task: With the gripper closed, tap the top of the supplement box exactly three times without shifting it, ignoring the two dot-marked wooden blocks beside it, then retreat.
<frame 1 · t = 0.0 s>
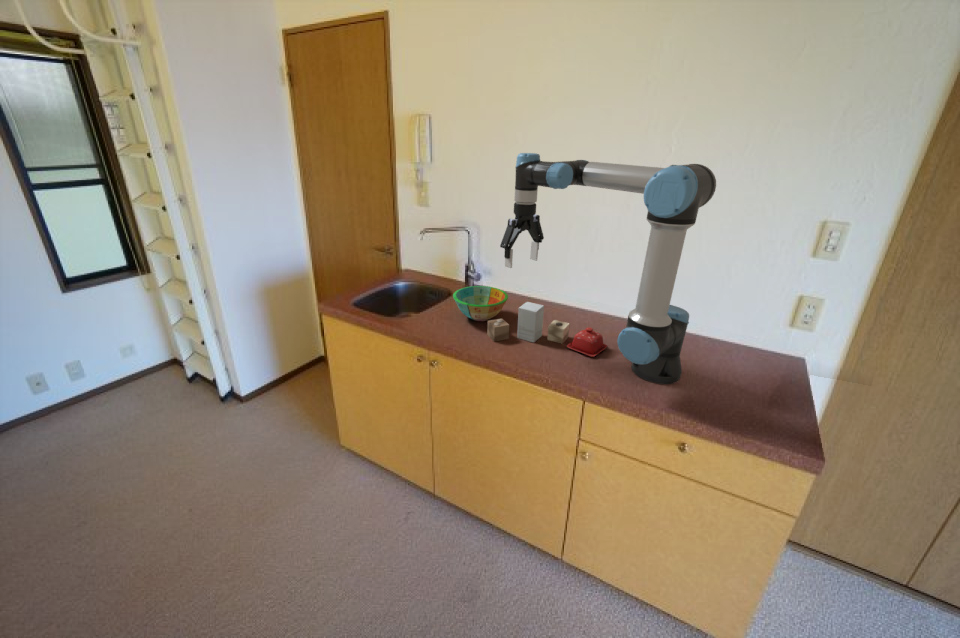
hand: (521, 263, 150), 28 cm above the worktop, fingers open, 13 cm apart
butter dish: (586, 349, 152), on the worktop
beech block marked: (557, 338, 158), on the worktop
bowl: (480, 317, 174), on the worktop
supplement box: (529, 337, 159), on the worktop
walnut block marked: (497, 337, 159), on the worktop
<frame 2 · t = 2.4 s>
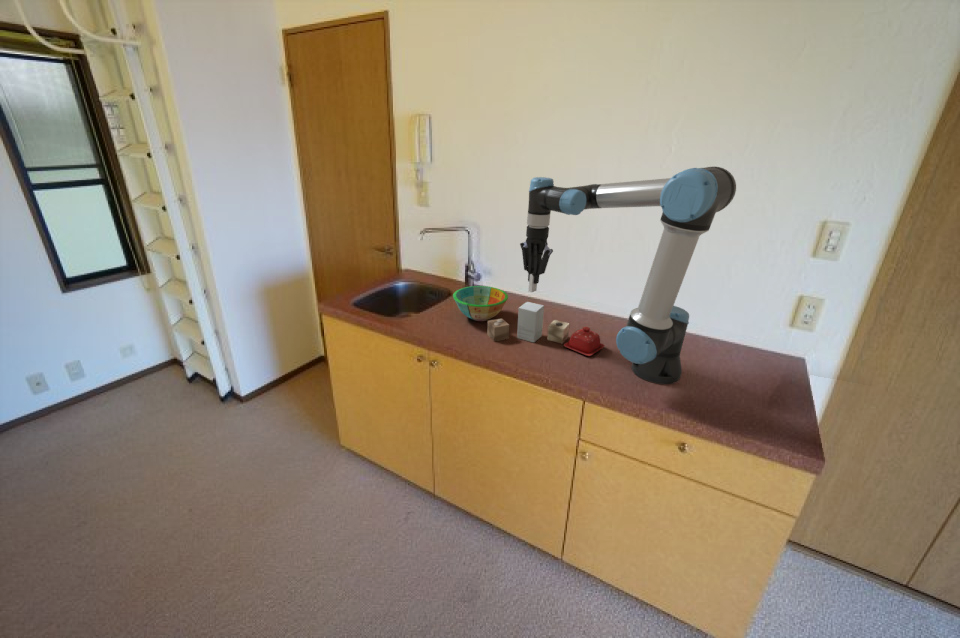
hand: (532, 290, 151), 19 cm above the worktop, fingers closed
butter dish: (583, 348, 152), on the worktop
everything else where it was.
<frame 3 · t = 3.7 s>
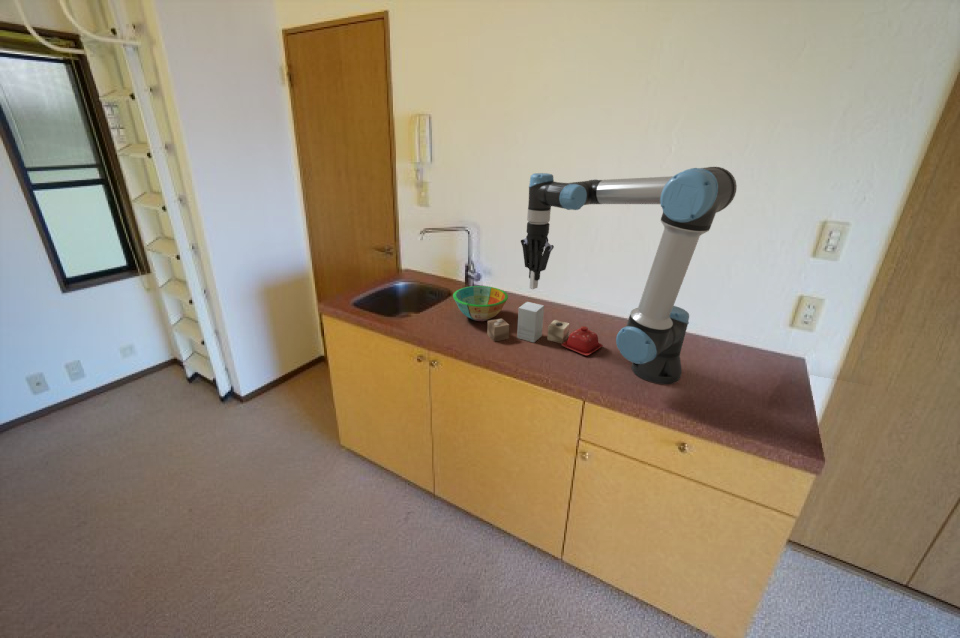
hand: (533, 287, 151), 20 cm above the worktop, fingers closed
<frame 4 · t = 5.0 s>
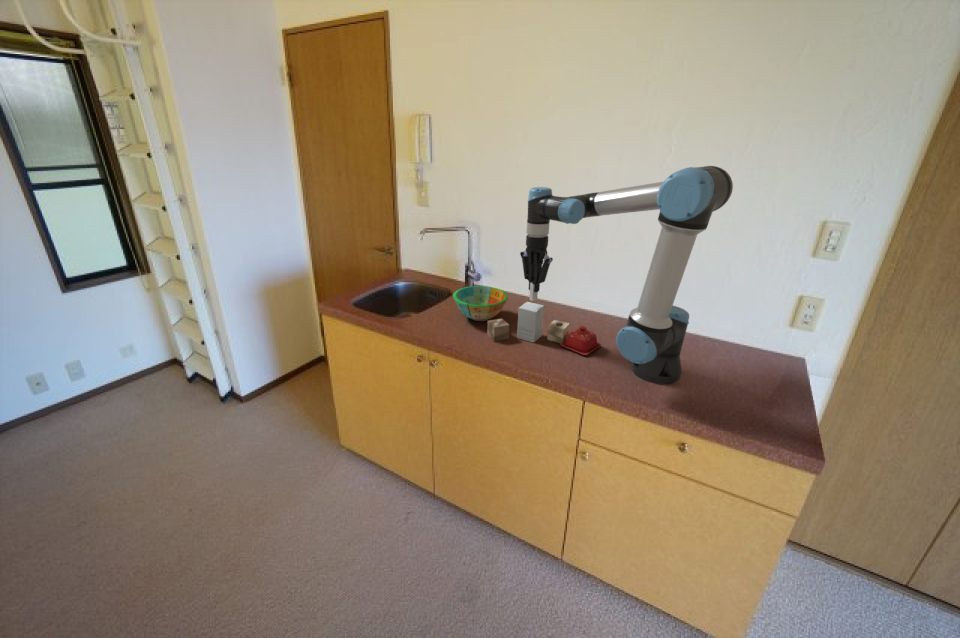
hand: (533, 299, 152), 15 cm above the worktop, fingers closed
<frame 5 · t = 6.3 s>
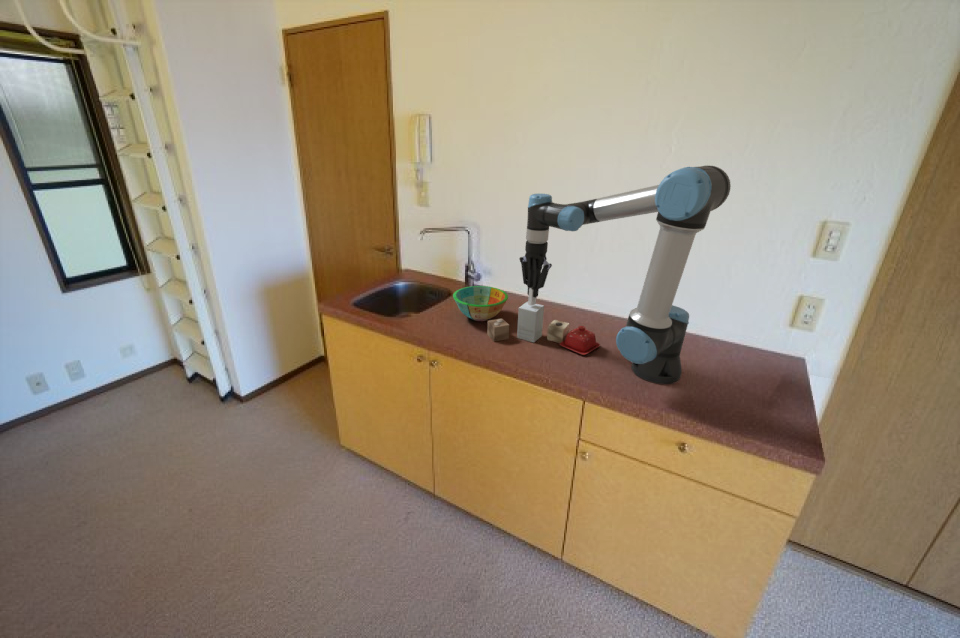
hand: (531, 304, 153), 13 cm above the worktop, fingers closed
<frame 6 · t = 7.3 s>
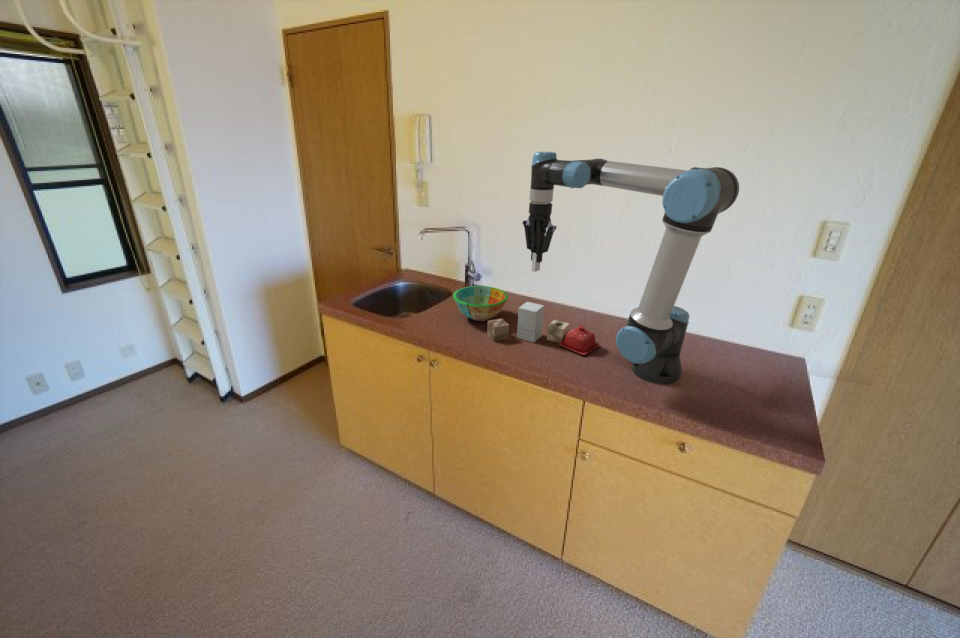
hand: (535, 270, 148), 26 cm above the worktop, fingers closed
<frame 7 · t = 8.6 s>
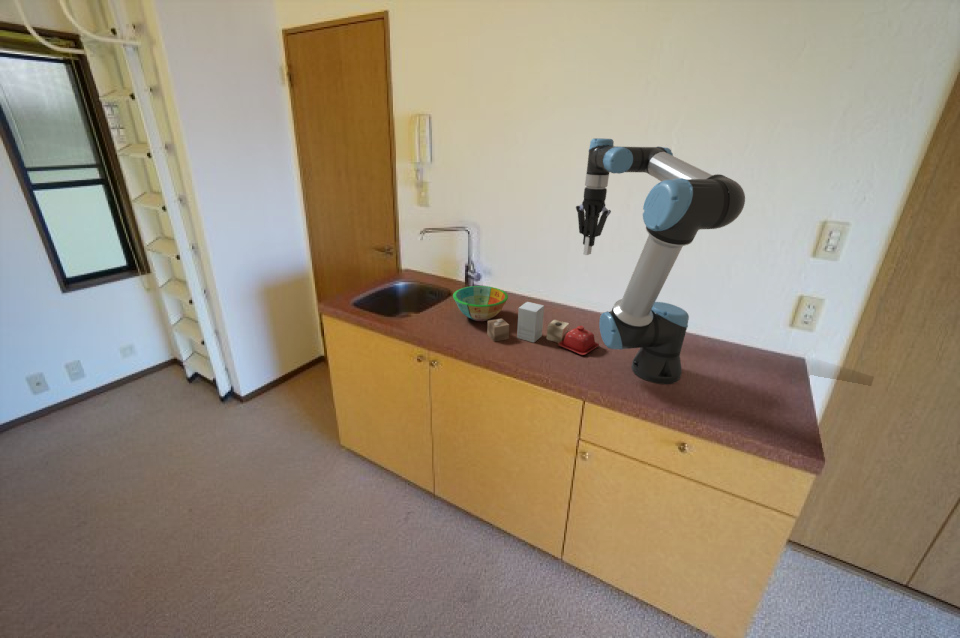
hand: (587, 254, 154), 30 cm above the worktop, fingers closed
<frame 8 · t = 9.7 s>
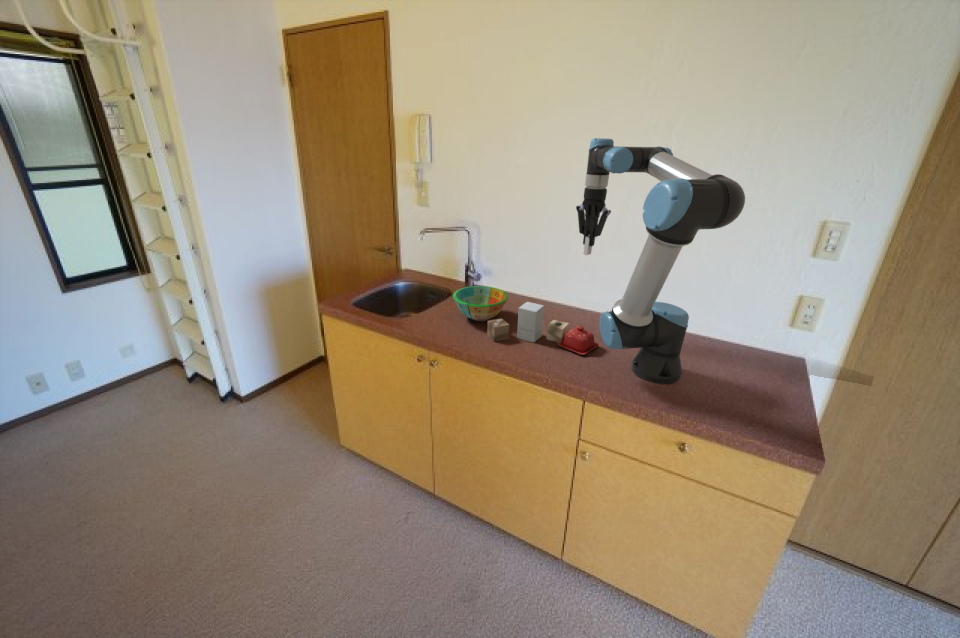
hand: (587, 254, 154), 30 cm above the worktop, fingers closed
at the end: supplement box moved 0.2 cm from its start; supplement box tilted 0°; supplement box touching worktop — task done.
